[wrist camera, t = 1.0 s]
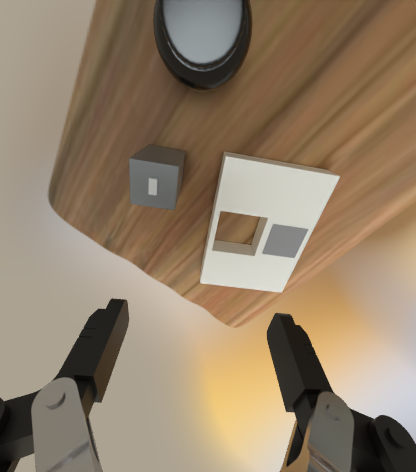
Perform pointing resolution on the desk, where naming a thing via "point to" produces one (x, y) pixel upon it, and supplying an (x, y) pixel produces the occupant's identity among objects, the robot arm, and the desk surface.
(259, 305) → the desk surface
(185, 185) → the desk surface
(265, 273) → the outlet plate
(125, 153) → the desk surface
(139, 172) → the charger
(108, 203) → the desk surface
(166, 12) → the supplement bottle
